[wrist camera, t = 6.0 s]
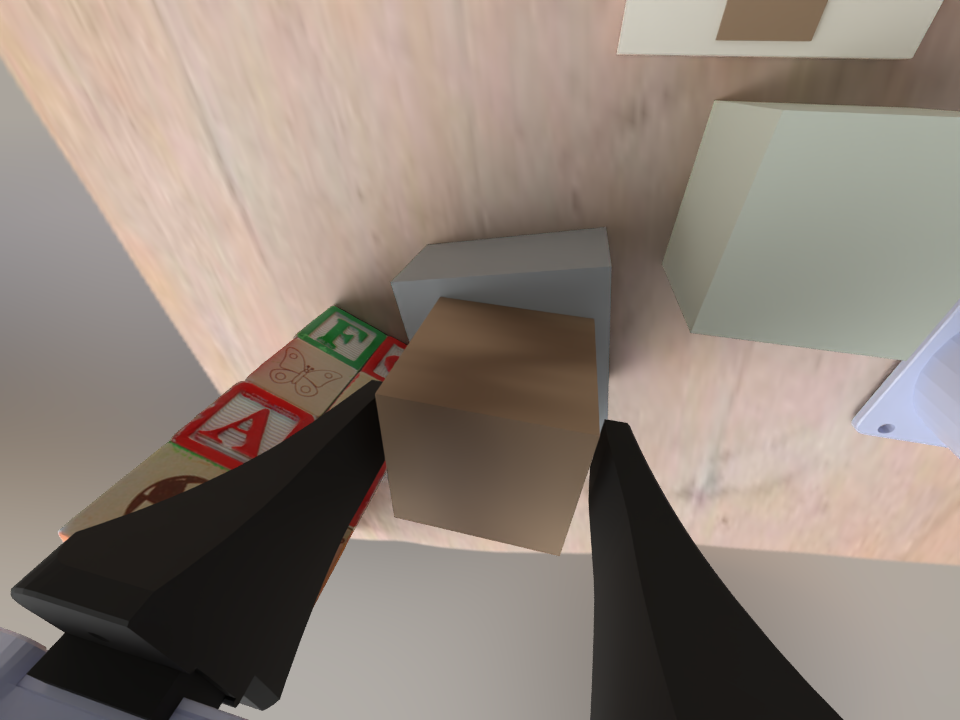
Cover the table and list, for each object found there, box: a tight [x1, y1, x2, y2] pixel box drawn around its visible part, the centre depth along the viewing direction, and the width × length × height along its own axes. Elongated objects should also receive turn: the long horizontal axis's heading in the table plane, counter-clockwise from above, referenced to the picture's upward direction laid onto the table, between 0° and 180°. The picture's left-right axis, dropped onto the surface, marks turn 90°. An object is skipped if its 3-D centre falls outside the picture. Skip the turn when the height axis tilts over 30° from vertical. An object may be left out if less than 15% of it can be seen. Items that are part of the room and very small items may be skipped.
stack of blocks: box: [58, 306, 407, 605], centre depth 20 cm, size 21×6×12 cm, turn 153°
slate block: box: [390, 227, 612, 432], centre depth 15 cm, size 7×7×4 cm
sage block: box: [662, 100, 960, 361], centre depth 10 cm, size 5×5×5 cm
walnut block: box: [375, 297, 600, 556], centre depth 12 cm, size 5×5×5 cm
